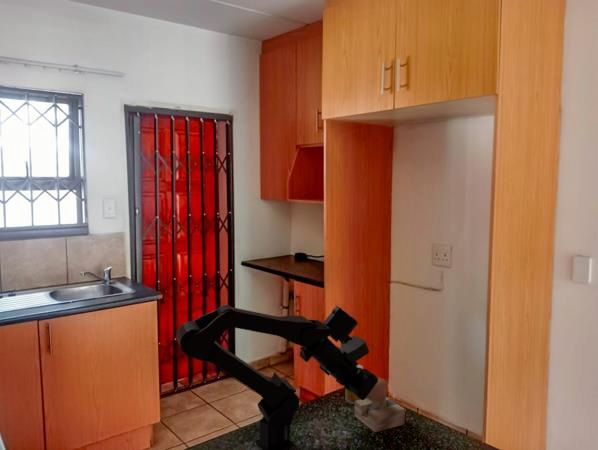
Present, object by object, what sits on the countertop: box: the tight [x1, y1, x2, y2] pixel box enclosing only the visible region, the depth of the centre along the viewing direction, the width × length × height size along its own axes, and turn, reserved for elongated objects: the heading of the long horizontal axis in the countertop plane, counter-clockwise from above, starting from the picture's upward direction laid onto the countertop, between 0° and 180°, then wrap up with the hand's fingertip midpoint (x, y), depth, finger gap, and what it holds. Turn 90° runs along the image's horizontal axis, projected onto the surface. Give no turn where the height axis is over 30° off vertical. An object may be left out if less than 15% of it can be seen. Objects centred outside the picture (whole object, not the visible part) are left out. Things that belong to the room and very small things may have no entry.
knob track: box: [354, 396, 406, 433], centre depth 119 cm, size 9×9×4 cm
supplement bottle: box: [344, 363, 364, 405], centre depth 130 cm, size 5×5×10 cm
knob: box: [365, 377, 388, 411], centre depth 118 cm, size 5×5×9 cm
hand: (366, 391), depth 117 cm, fingers closed, pressing on knob
